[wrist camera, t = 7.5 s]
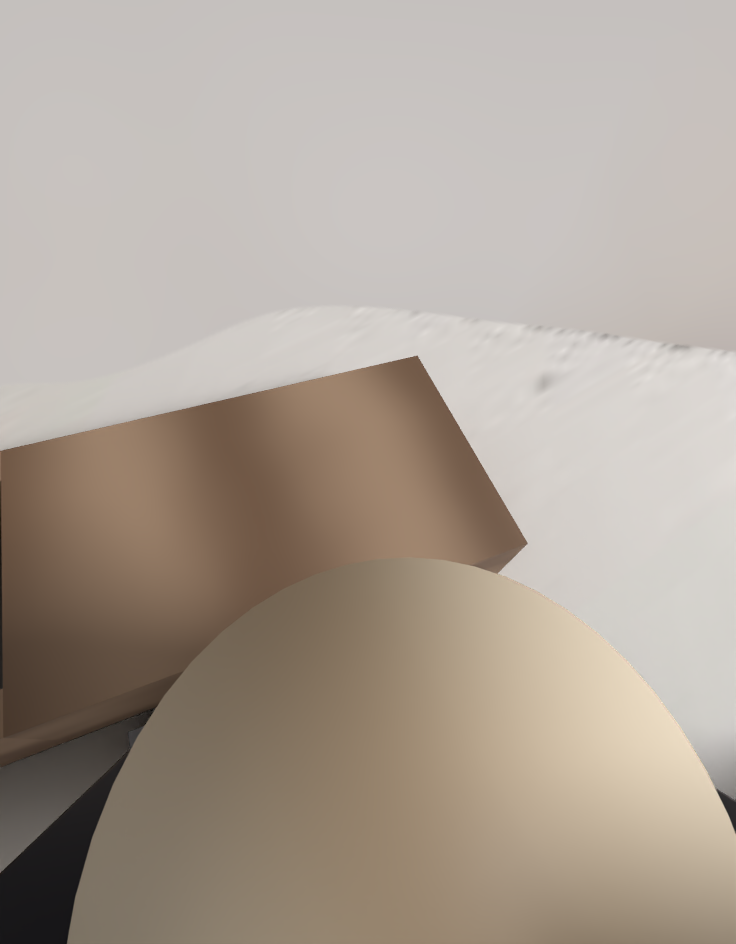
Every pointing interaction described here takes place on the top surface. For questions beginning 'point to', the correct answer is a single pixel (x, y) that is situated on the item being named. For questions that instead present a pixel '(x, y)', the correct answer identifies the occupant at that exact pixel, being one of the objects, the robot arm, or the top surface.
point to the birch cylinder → (410, 782)
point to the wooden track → (215, 532)
